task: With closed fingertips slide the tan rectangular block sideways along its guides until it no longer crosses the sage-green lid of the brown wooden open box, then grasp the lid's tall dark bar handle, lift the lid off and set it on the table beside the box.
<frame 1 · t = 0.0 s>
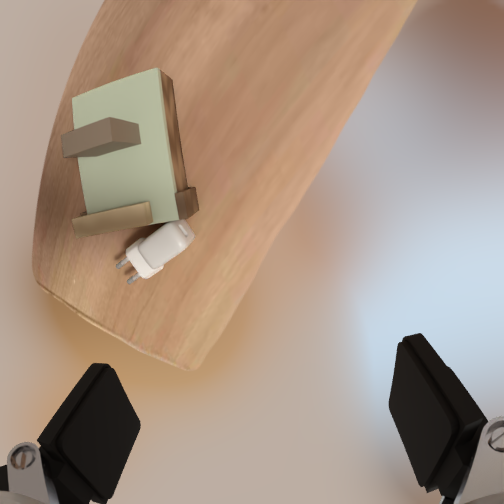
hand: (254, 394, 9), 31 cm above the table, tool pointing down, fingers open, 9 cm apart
tan rectangular block: (110, 220, 32), point 7 cm above the table, slide at 0.0 cm
power adapter: (160, 246, 41), on the table
lid: (122, 152, 32), point 5 cm above the table, touching brown wooden open box
brown wooden open box: (138, 153, 37), on the table
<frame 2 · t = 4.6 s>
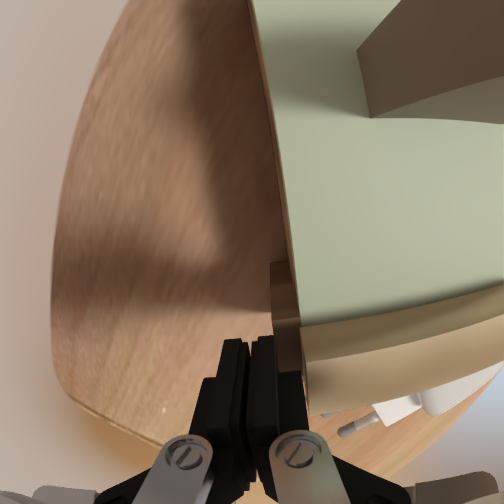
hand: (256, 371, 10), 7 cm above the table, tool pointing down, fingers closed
tan rectangular block: (437, 344, 9), point 7 cm above the table, slide at 0.9 cm, touching gripper
power adapter: (394, 346, 18), on the table
lid: (432, 129, 9), point 5 cm above the table, touching brown wooden open box
brown wooden open box: (385, 136, 14), on the table
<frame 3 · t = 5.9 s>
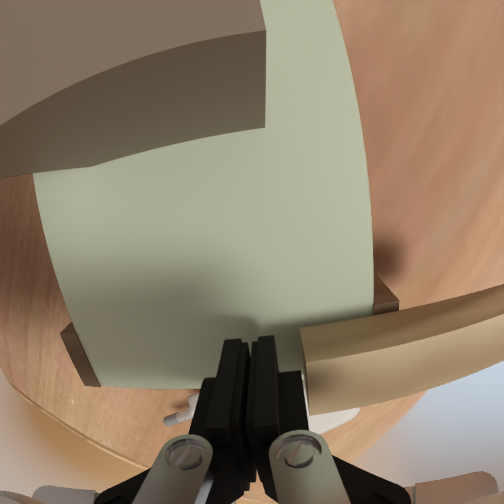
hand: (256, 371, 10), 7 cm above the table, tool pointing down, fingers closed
tan rectangular block: (437, 344, 9), point 7 cm above the table, slide at 10.3 cm, touching gripper
power adapter: (255, 368, 18), on the table
lid: (179, 155, 10), point 5 cm above the table, touching brown wooden open box
brown wooden open box: (206, 157, 15), on the table
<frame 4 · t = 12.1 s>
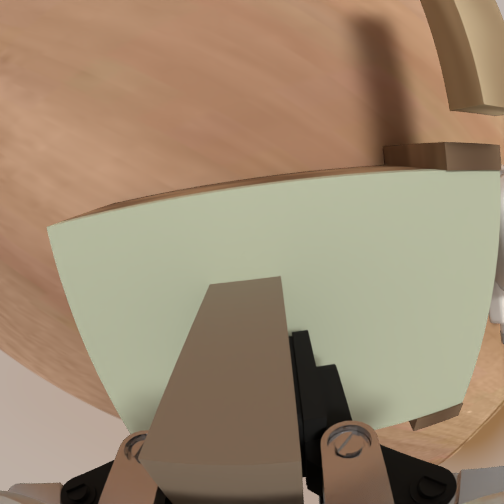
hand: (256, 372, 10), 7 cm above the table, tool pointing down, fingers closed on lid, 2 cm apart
power adapter: (478, 247, 16), on the table
lid: (294, 335, 12), point 5 cm above the table, touching gripper, brown wooden open box
brown wooden open box: (287, 286, 17), on the table
when the fingers open (6 cm above the table, at t = 17.5 s): lid drops 2 cm, on the table.
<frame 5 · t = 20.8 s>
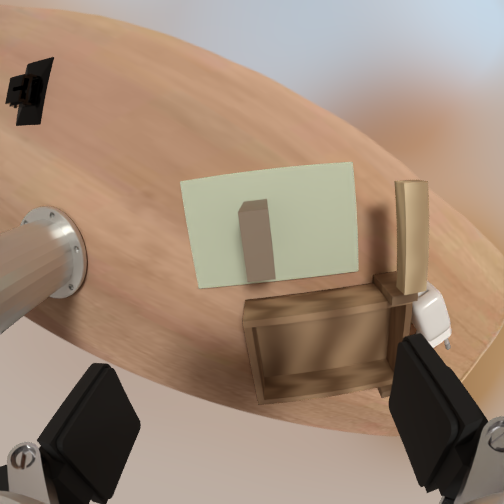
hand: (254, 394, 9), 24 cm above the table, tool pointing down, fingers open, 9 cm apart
tan rectangular block: (412, 237, 24), point 7 cm above the table, slide at 15.1 cm
power adapter: (420, 312, 34), on the table
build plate: (36, 93, 28), on the table
lid: (273, 225, 32), on the table
brown wooden open box: (325, 334, 35), on the table
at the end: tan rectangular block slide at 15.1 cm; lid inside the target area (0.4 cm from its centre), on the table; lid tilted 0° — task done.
